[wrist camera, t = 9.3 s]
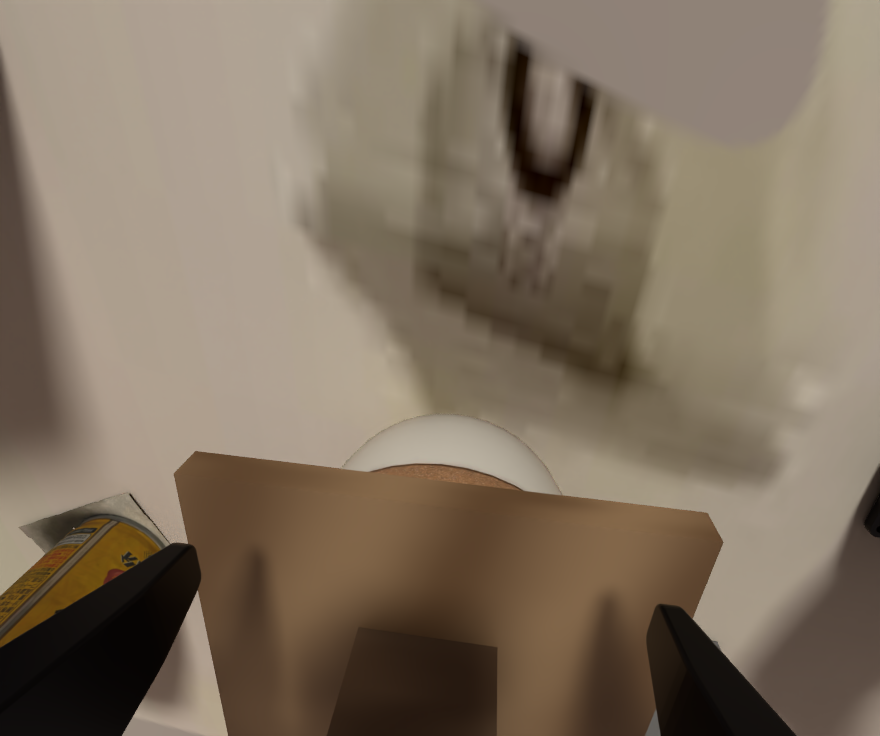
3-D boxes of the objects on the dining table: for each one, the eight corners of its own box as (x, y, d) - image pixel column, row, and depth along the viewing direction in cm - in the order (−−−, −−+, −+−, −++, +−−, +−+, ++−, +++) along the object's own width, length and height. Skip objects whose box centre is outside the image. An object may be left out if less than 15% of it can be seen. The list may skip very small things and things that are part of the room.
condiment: (201, 583, 30) (31, 832, 19) (98, 607, 32) (-108, 844, 21) (130, 489, 28) (-113, 717, 17) (23, 523, 30) (-254, 743, 19)
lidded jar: (387, 566, 28) (336, 755, 19) (315, 399, 24) (209, 545, 15) (584, 540, 25) (624, 743, 17) (540, 350, 21) (565, 490, 13)
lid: (707, 512, 12) (806, 693, 8) (600, 797, 18) (628, 986, 14) (195, 451, 14) (64, 586, 9) (247, 739, 19) (180, 900, 15)
